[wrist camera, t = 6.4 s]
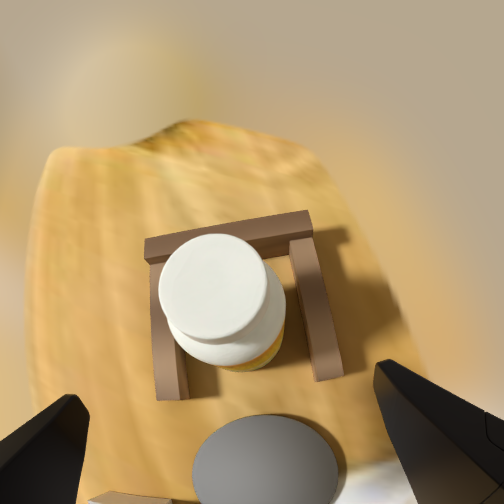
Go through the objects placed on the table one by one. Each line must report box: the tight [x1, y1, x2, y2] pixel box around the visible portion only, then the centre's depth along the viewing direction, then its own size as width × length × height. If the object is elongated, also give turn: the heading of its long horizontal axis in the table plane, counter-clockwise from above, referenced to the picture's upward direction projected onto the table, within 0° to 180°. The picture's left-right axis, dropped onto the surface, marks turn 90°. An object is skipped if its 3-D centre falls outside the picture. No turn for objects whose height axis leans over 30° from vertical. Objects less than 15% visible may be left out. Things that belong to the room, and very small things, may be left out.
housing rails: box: [144, 210, 344, 401], centre depth 18 cm, size 10×11×3 cm
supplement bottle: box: [158, 234, 286, 372], centre depth 14 cm, size 5×5×10 cm
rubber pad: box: [192, 415, 338, 504], centre depth 14 cm, size 9×9×1 cm
